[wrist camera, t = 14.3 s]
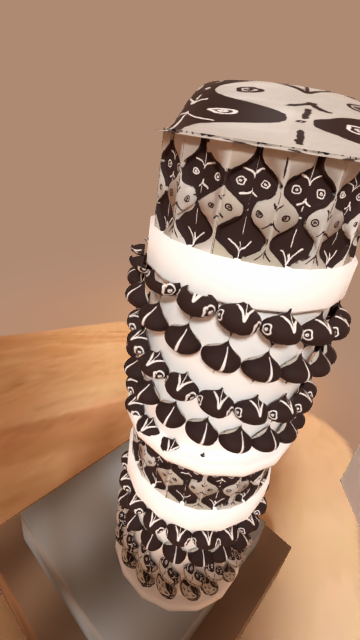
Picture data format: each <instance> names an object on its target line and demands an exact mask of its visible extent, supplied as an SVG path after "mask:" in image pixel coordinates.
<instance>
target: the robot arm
mask: <svg viewBox="0 0 360 640" xmlns="http://www.w3.org/2000/svg"><path fill="white" fill-rule="evenodd" d="M340 481H341V484H342V486H343V488H344V491H345V493H346V496H347V498H348V500H349V503H350V505H351V507H352V510H353V512H354V514H355V517H356V519H357V522H358V524H359V526H360V445H359V447H358V449H357V451H356V453H355V454H354V456H353V458H352V460H351V462H350V463H349V465H348V467H347V469H346V471H345V473H344V474H343V476H342V478H341V480H340Z"/></svg>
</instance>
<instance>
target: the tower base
mask: <svg viewBox="0 0 360 640" xmlns="http://www.w3.org/2000/svg"><path fill="white" fill-rule="evenodd" d="M129 442H130V439H129V440H128V441H126V442H125V443H123V444H122V445H120V446H119V447H117V448H116V449H114V450H113V451H111V452H110V453H108V454H107V455H105V456H104V457H102V458H101V459H99V460H98V461H96V462H95V463H93V464H92V465H90V466H89V467H87V468H86V469H84V470H83V471H81V472H80V473H78V474H77V475H75V476H74V477H72V478H71V479H69V480H68V481H66V482H65V483H63V484H62V485H60V486H59V487H57V488H56V489H54V490H53V491H51V492H50V493H48V494H47V495H45V496H44V497H42V498H41V499H39V500H38V501H36V502H35V503H33V504H32V505H30V506H29V507H27V508H26V509H24V510H23V511H21V512H20V513H18V514H17V515H15V516H14V517H12V518H11V519H9V520H8V521H6V522H5V523H3V524H2V525H0V589H1V591H2V593H3V594H4V596H5V598H6V600H7V602H8V604H9V606H10V608H11V610H12V612H13V613H14V615H15V617H16V619H17V621H18V623H19V625H20V627H21V629H22V630H23V632H24V634H25V636H26V638H27V640H238V639H239V637H240V635H241V634H242V632H243V631H244V629H245V627H246V626H247V624H248V622H249V621H250V619H251V617H252V616H253V614H254V612H255V611H256V609H257V607H258V606H259V604H260V602H261V601H262V599H263V597H264V596H265V594H266V592H267V591H268V589H269V587H270V586H271V584H272V582H273V581H274V579H275V577H276V576H277V574H278V572H279V570H280V568H281V566H282V565H283V563H284V561H285V559H286V557H287V555H288V553H289V551H290V549H291V547H290V546H289V545H288V544H287V543H286V542H285V541H283V540H282V539H281V538H280V537H279V536H278V535H276V534H275V533H274V532H273V531H272V530H270V529H269V528H268V527H267V526H266V525H265V524H266V523H265V522H264V521H263V520H262V519H261V518H259V527H258V529H257V530H256V531H253V532H251V533H250V534H249V535H250V536H251V538H252V546H251V547H250V548H245V549H244V551H245V553H246V559H245V561H244V562H241V564H240V566H239V570H238V574H237V576H236V578H235V579H234V581H233V582H232V584H231V585H230V586H229V588H228V589H227V591H226V592H225V594H224V595H223V597H222V598H221V599H219V600H217V601H215V602H213V603H212V604H210V605H208V606H206V607H204V608H202V609H201V610H199V611H167V610H165V609H163V608H161V607H159V606H157V605H155V604H153V603H151V602H149V601H147V600H145V599H143V598H141V596H140V595H139V594H138V593H137V591H136V590H135V589H134V588H133V586H132V585H131V584H130V583H129V582H128V580H127V579H126V578H125V577H124V575H123V573H122V569H121V566H120V562H119V559H118V555H117V552H116V548H115V545H116V538H115V528H116V526H117V523H116V513H117V507H118V491H119V489H120V488H121V486H120V484H119V478H120V474H121V472H122V470H124V467H123V466H122V463H121V457H122V454H123V453H124V452H125V451H127V450H129Z"/></svg>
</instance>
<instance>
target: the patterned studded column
mask: <svg viewBox="0 0 360 640" xmlns="http://www.w3.org/2000/svg"><path fill="white" fill-rule="evenodd" d="M159 131H164V132H163V141H162V155H161V163H160V171H159V172H160V173H159V182H158V194H157V205H156V211H155V215H153V216H151V219H150V230H149V238H147V237H146V240H147V241H148V251H147V253H145V254H144V249H145V244H138V245H135V246H133V245H132V246H131V250H132V251H133V252H134V253H136V254H138V255H141V256H137V257H133V258H132V256H130V258H129V260H130V263H131V265H132V266H133V267H132V268H130V270H129V271H128V274H127V278H128V281H129V283H130V284H131V285H130V286H129V287H128V288H127V290H126V292H125V295H126V298H127V300H128V301H129V302H130V303H131V304H132V305H133V306H135V307H136V310H133V311H132V312H131V313H130V314H129V316H128V318H127V324H128V327H129V329H130V330H131V332H130V333H129V334H128V337H127V344H126V350H127V352H128V354H129V355H130V356H131V357H130V358H129V359H128V360H127V361H126V362H125V365H124V371H125V373H126V374H127V376H128V378H127V380H126V387H127V390H128V391H129V394H128V398H127V399H126V401H125V406H126V409H127V412H128V415H129V417H130V419H131V421H132V423H133V427H132V429H131V431H130V442H129V450H127V451H125V452H124V453H123V454H122V457H121V463H122V466H123V467H124V470H122V472H121V474H120V478H119V484H120V486H121V488H120V489H119V491H118V507H117V513H116V523H117V526H116V528H115V538H116V545H115V548H116V552H117V555H118V559H119V562H120V566H121V569H122V573H123V575H124V577H125V578H126V579H127V580H128V582H129V583H130V584H131V585H132V586H133V588H134V589H135V590H136V591H137V593H138V594H139V595H140V596H141V598H143V599H145V600H147V601H149V602H151V603H153V604H155V605H157V606H159V607H161V608H163V609H165V610H167V611H199V610H201V609H202V608H204V607H206V606H208V605H210V604H212V603H213V602H215V601H217V600H219V599H221V598H222V597H223V595H224V594H225V592H226V591H227V589H228V588H229V586H230V585H231V584H232V582H233V581H234V579H235V578H236V576H237V574H238V570H239V566H240V564H241V562H244V561H245V559H246V553H245V551H244V549H245V548H250V547H251V546H252V538H251V536H250V535H249V534H250V533H251V532H253V531H256V530H257V529H258V527H259V517H258V515H262V514H264V513H265V511H266V507H267V503H266V499H265V497H264V494H265V492H266V491H267V490H268V487H269V480H270V472H271V466H274V465H275V464H276V463H277V462H278V461H279V459H280V458H281V457H282V456H283V454H284V453H285V452H286V451H287V450H288V448H289V447H290V446H291V445H292V442H293V441H294V440H295V439H296V437H297V434H298V431H297V429H301V428H302V427H303V426H304V424H305V416H304V414H303V413H306V412H308V411H309V410H310V408H311V407H312V404H313V401H312V399H313V398H314V397H315V395H316V392H317V388H316V385H315V384H314V382H313V381H312V380H311V379H312V376H313V377H323V376H325V375H327V374H328V373H329V372H330V370H331V365H332V364H333V363H335V361H336V358H337V356H336V352H335V350H334V349H333V348H332V346H331V342H332V341H333V340H341V339H343V338H345V337H346V336H347V335H348V333H349V331H350V326H349V325H350V323H351V317H350V315H349V313H348V312H347V311H346V310H345V309H343V308H342V306H341V305H340V300H341V299H342V298H344V296H345V293H346V291H347V288H348V286H349V283H350V281H351V278H352V276H353V273H354V271H355V268H356V266H357V263H358V261H357V259H356V256H355V252H356V246H357V243H358V240H359V238H360V101H358V100H356V99H354V98H352V97H348V96H344V95H340V94H337V93H333V92H330V91H324V90H318V89H313V88H308V87H302V86H296V85H289V84H280V83H271V82H262V81H243V80H224V81H213V82H209V83H206V84H204V85H203V86H201V87H200V88H199V89H198V90H197V91H196V92H195V93H194V94H193V95H192V96H191V98H190V99H189V100H188V101H187V103H186V105H185V106H184V108H183V109H182V111H181V113H180V114H179V116H178V117H177V119H176V120H175V121H174V122H173V123H172V125H170V126H169V127H168V128H164V129H163V130H159ZM144 276H145V279H144V281H143V282H142V280H143V278H144ZM145 283H146V285H147V286H148V287H149V288H150V289H151V292H149V294H147V292H146V288H145ZM338 301H339V303H338ZM327 319H330V320H329V322H327V321H326V320H327ZM313 352H317V354H316V355H315V356H314V358H313V359H312V360H311V362H310V363H309V360H310V358H311V355H312V353H313ZM139 355H142V356H140V357H139ZM299 386H300V387H299ZM298 389H299V392H298ZM297 392H298V393H297Z"/></svg>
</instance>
